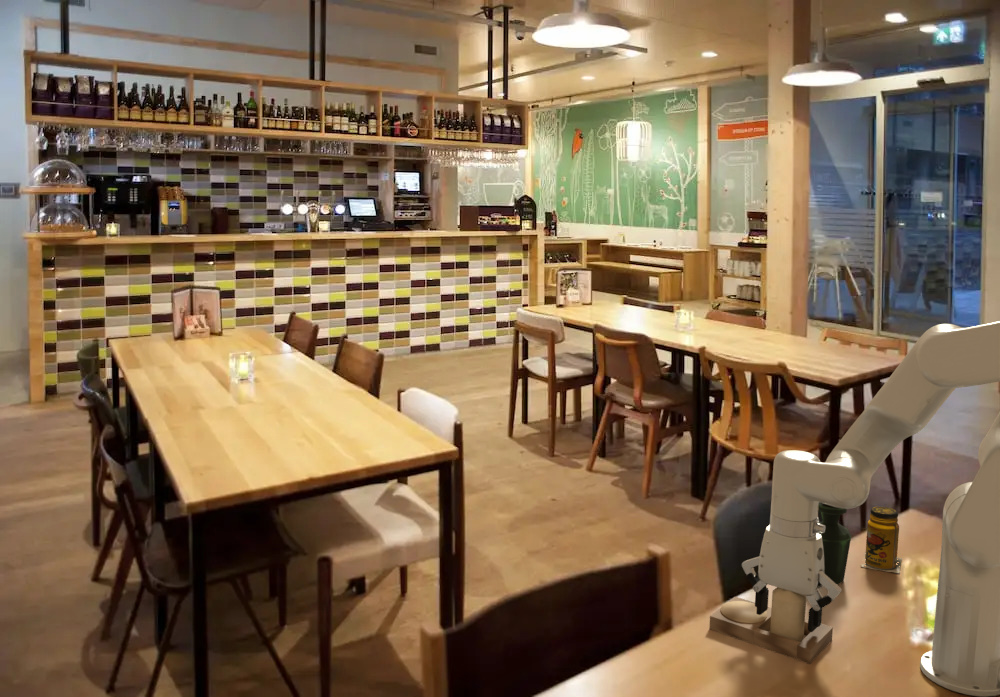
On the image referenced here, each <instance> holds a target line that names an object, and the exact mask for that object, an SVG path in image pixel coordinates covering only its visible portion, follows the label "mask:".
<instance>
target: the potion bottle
mask: <svg viewBox="0 0 1000 697" xmlns="http://www.w3.org/2000/svg"><path fill="white" fill-rule="evenodd" d="M818 512H820V515H821V520H822V521H819V523H821V524H822V525H825V526H826V528H825V532H824V533H821V532H819V533H818V534H820V535H821V536H822V542H823V550H824V574H825V575H827V576H828V577H829V578H830V579H831V580H832V581H833V582H834V583H836V584H837V585H841V583H843V582H844V580H845V575H846V571H847V563H848V557H849V554H850V552H849V551H850V546H851V541H852V534H851V532H850V530H848V528H847V527H845V526H844V525H842V524H840V523H839V520H840V518H841V516H842V515H844V514H846V513H847V512H848V509H842V508H837V507H833V506H830V505H827V504H824V503H820V502H819V506H818Z"/></svg>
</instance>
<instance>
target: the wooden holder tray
mask: <svg viewBox="0 0 1000 697" xmlns="http://www.w3.org/2000/svg"><path fill="white" fill-rule="evenodd" d="M771 609H772V607H770V606H768V609H767V610H766V611H765V612H764V613H763V614H761V615H758V614H757V613H756V612H757V607H755V601H751V600H747V599H745V598H741V597H738V596H734V597H733V598H732V599H730V600H729V601H727V602H725V603H723V604H721V606H720V608H718V609H717V610H716V611H714V612H712V614H710V616H709V630H712V631H715V632H717V633H720V634H722V635H726V636H728V637H731V638H734V639H736V640H739V641H743V642H745V643H749V644H752V645H754V646H757V647H760V648H763V649H766V650H769V651H771V652H774V653H777V654H780V655H783V656H786V657H789V658H791V659H794V660H797V661H800V662H803V663H806V664H809V665H810V664H811V663H812V662H814V660H815V659H816V658H817V657H818V656H819V655H820V654H821V653H822V651H823V650H825V648H827V647H828V646H829V645H830V644H831V643H832V641H833V634H834V632H833V630H834V627H833V626H830V625H827V624H823V623H821V625H820V626H819V627H817V628H816V629H815V630H814V631H813V632H810V631H809V630H808V619H807V618H805V626H804V639H803V640H802V641H801V642H798V641H795V640H792V639H789V638H786V637H783V636H780V635H777V634H774V633H771V632H770V626H771Z"/></svg>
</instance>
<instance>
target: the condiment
mask: <svg viewBox="0 0 1000 697" xmlns="http://www.w3.org/2000/svg"><path fill="white" fill-rule="evenodd" d="M898 518H899V512H898V511H897V510H896V509H894V508H892V507H887V506H872V507H871V508H870V514H869V520H868V521H867V526H866V539H865V540H866V541H865V552H864V554H865V553H866V554H865V555H864V554H863V558H862V560H863V559H866V560H865V563H866V564H862V563H861V565H860V567H862V568H866V569H871V570H875V571H880V572H881V571H882V572H888V573H889V572H890V573H895V574H900V571H901V566H902V560H903V559H902V557H898V550H899V549H898V547H899V534H900V525H899V523H898V521H899V519H898ZM864 556H865V558H864ZM897 559H898V560H897ZM897 562H899V563H897ZM896 563H897V564H898V565H896ZM864 565H866V566H865V567H864ZM899 566H900V567H899Z"/></svg>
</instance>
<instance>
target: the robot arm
mask: <svg viewBox="0 0 1000 697" xmlns="http://www.w3.org/2000/svg"><path fill="white" fill-rule="evenodd" d="M999 382H1000V320H998V321H994V322H989V323H985V324H979V325H976V326H975V325H974V326H970V327H969V326H968V327H962V326H959V325H957V324H953V323H941V324H940V323H939V324H936V325H934V326H931V327H930V328H929V329H927V330H926V331H925V332H923V334H922V335H921V336H920V337H919V338H918V339H917V341H916V342H915V343H914V345H913V346H912V347H911V348H910V350H909V351H908V352H907V354H906V355H905V356H904V358H903V359H902V360H901V362H900V363H899V364H898V365H897V367H896V368H895V369H894V371H893V372H892V374H891V375H890V376H889V378H887V380H886V381H885V383H884V384H883V385H882V386H881V388H880V389H879V390H878V391H877V393H876V394H875V395H874V396H873V398H872V399H871V400H870V401H869V403H868V404H867V406H866V408H865V409H864V410H863V411H862V413H861V414H859V416H858V417H857V418H856V419H855V421H854V422H853V423H852V425H851V426H850V427H849V428H848V430H847V431H846V433H845V434H844V435H843V436H842V438H840V440H839V441H838V442H837V444H836V445H835V446H834V448H833V449H832V450H831V452H830V453H829V454H828V456H827V458H826V460H825V461H824V462H822V461H821V460H820V458H819V457H818V456H816V454H814V453H812V452H808V451H804V450H797V449H796V450H795V449H792V450H791V449H789V450H788V449H787V450H783V451H780V452H778V453H777V454H776V455H775V457H774V458H773V459H774V460H773V466H772V468H773V470H772V485H771V504H770V516H769V525H768V526H766V528H765V531H764V534H763V538H762V541H761V545H760V546H761V547H760V553H759V556H756V557H753V558H750V559H747V560H744V561H743V562H742V563H741V567H742V569H743V571H744V574H746V579H747V581H749V583H750V584H751V586H752V590H753V591H754V592H755V601H754V603H755V607H757V612H756V613H757V614H758V615H761V614H763V613H764V612H765V611H766V610H767V609H768V607H769V592H770V590H769V587H767V585H769V586H772V587H775V588H777V587H778V588H781V589H785V590H788V591H791V592H795V593H798V594H801V595H805V596H806V600H808V602H809V604H810V606H811V607H810V608H809V609H808V616H807V617H808V630H809V631H810V632H813V631H814V630H815V629H816V628H817V627H819V626H820V625H821V624H822V620H823V619H822V618H823V608H825V607H827V606H828V605H830V604H831V603H832V602H833V601H835V599H836V597H838V595H840V593H842V588H841V587H840V586H839V584H836V583H834V582H833V581H832V580H831V579H830V578H829V577H828V576H827V575H825V574H824V550H823V542H822V536H821V535H820V534H818V533H819V532H821V533H824V532H825V528H826V526H825V525H822V524H821V523H819V522H820V518H819V511H818V506H819V502H820V503H824V504H827V505H830V506H833V507H837V508H842V509H847V510H849V509H855V508H858V507H860V506H861V505H863V504H865V502H866V501H867V499H868V497H869V494H870V491H871V490H870V489H871V482H872V481H871V480H872V477H873V475H874V474H875V473H876V471H878V469H879V467H880V466H881V465H882V464H883V462H884V461H885V460H886V459H887V458H888V456H889V455H890V453H892V452H893V450H895V448H897V446H898V445H900V443H901V442H903V441H904V440H906V439H907V438H909V437H911V436H915V435H916V434H919V433H920V432H921V431H922V430H923V429H924V428H925V427H926V426H927V425H928V423H929V422H930V421H931V420H932V418H933V417H934V416H935V415H936V413H937V412H938V411H939V410H940V408H941V407H942V405H944V403H945V402H946V400H948V398H949V397H950V395H951V394H952V393H953V392H954V391H955V390H956V389H961V388H967V387H969V388H970V387H975V386H981V385H987V384H992V383H999ZM977 452H978V453H977V454H978V456H977V458H978V463H979V469H978V471H977V473H976V475H975V476H974V479H973V481H968V482H966V483H965V482H964V483H962V484H959V485H958V486H957V487H955V488H954V489H953V490H952V491H951V492H950V493H949V495H948V496H947V498H946V500H945V502H944V505H943V511H942V524H941V525H942V526H941V527H942V529H941V530H942V531H941V549H940V561H939V562H940V563H939V573H938V581H937V594H936V601H935V602H936V604H935V612H934V614H935V616H934V625H933V634H932V636H933V637H932V647H931V650H929V651H927V652H925V653H924V654H922V656H921V657H920V661H919V665H920V666H919V668H920V669H921V671H922V673H923V675H925V676H926V677H927V678H928V679H929V680H931V681H932V682H934V683H935V684H937V685H939V686H940V687H942V688H945V689H947V690H949V691H952V692H955V693H960V694H962V695H968V696H974V697H996V696H999V695H1000V411H999V412H998V414H997V415H996V417H995V419H994V421H993V423H992V424H991V426H990V428H989V430H988V431H987V433H986V435H985V436H984V437H983V439H982V440H981V442H980V445H979V448H978V451H977ZM757 566H758V567H757ZM754 567H757V568H758V570H757V572H756V571H755V568H754ZM823 587H824V588H825V589H827V592H828V593H827V594H826V595H824V596H823V595H822V592H821V591H820V589H822V588H823Z"/></svg>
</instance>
